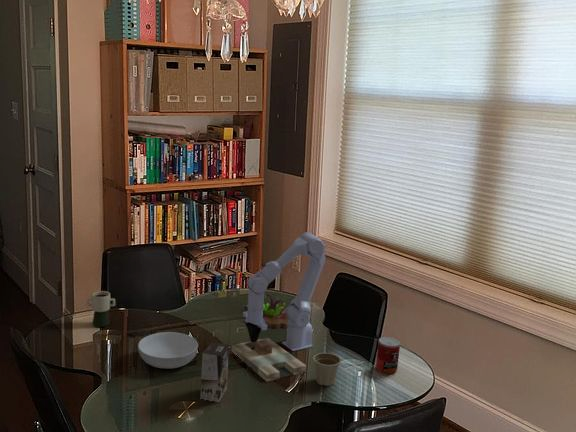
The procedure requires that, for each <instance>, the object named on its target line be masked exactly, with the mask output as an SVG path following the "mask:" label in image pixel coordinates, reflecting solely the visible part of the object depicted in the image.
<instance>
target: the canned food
mask: <svg viewBox="0 0 576 432" xmlns="http://www.w3.org/2000/svg"><path fill="white" fill-rule="evenodd" d="M377 343H378V344H377V345H378V346H377V353H376V363H375V367H376V370H377V371H379V372H380V373H381V374H385V375H392V374H395V373H397V371H398V366H399V357H400V350H401V349H400V347H401V342H400V340H398V339H397V338H395V337H391V336H382V337H379V338H378V342H377Z"/></svg>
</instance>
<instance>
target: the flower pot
mask: <svg viewBox="0 0 576 432" xmlns="http://www.w3.org/2000/svg"><path fill="white" fill-rule="evenodd" d="M313 362H314V366H315V379H316V380H315V381H316V383H317V384H318V385H320V386H326V387H328V386H329V387H330V386H333V385H334V384H335V382H336V378H337V372H338V368H339V366H340V363H342V359H341V357H340V356H338V355H337V354H334V353H331V352H320V353H317V354H314V355H313Z"/></svg>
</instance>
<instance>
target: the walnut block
mask: <svg viewBox="0 0 576 432" xmlns="http://www.w3.org/2000/svg"><path fill="white" fill-rule="evenodd" d="M255 351H256V352H257V353H259V354H260V355H266V354H270V353H272V344H271V343H270V342H269V341H267V340H261V341H257V342H255Z"/></svg>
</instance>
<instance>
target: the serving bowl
mask: <svg viewBox="0 0 576 432" xmlns="http://www.w3.org/2000/svg"><path fill="white" fill-rule="evenodd" d="M137 349H138V353H139V356H140V357H141V359H142V360H143V361H144V362H145V363H146V364H147V365H149V366H152V367H153V368H158V369H166V370H167V369H177V368H181V367H183V366H185V365H188V364H189V363H190V362H192V361H193V360H194V358H195V357H196V355H197V353H198V349H199V342H198V341H197V339H196V338H195V337H193V336H191V335H188V334H186V333H181V332H175V331H174V332H173V331H166V332H165V331H164V332H156V333H152V334H149V335H147V336H145V337H143V338H142V339H140V341H139V342H138V344H137Z"/></svg>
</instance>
